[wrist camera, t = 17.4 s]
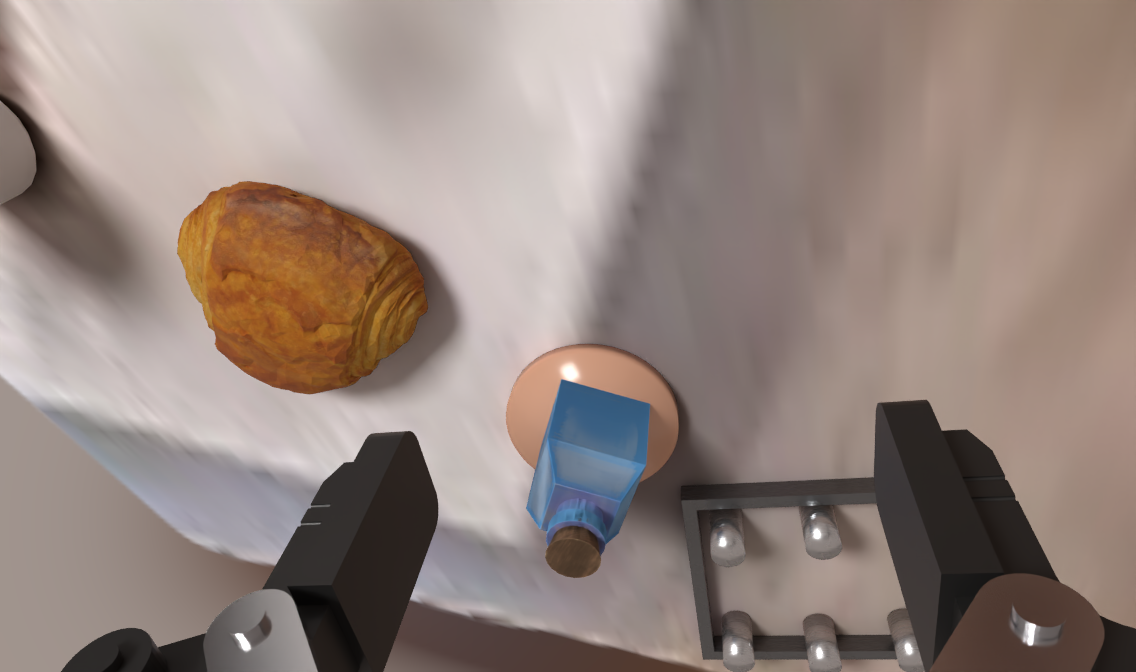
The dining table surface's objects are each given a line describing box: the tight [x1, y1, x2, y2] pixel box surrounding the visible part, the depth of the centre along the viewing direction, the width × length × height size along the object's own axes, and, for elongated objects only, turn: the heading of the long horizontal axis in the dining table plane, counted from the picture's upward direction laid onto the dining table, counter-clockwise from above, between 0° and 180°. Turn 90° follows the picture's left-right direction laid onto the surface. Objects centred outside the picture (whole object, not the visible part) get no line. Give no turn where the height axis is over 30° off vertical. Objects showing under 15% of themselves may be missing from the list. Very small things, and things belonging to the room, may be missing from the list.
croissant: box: [177, 181, 428, 394], centre depth 50 cm, size 14×16×8 cm
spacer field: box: [681, 478, 925, 672], centre depth 59 cm, size 19×18×4 cm
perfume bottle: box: [526, 379, 650, 578], centre depth 49 cm, size 6×6×12 cm
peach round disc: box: [506, 344, 679, 482], centre depth 55 cm, size 12×12×1 cm
